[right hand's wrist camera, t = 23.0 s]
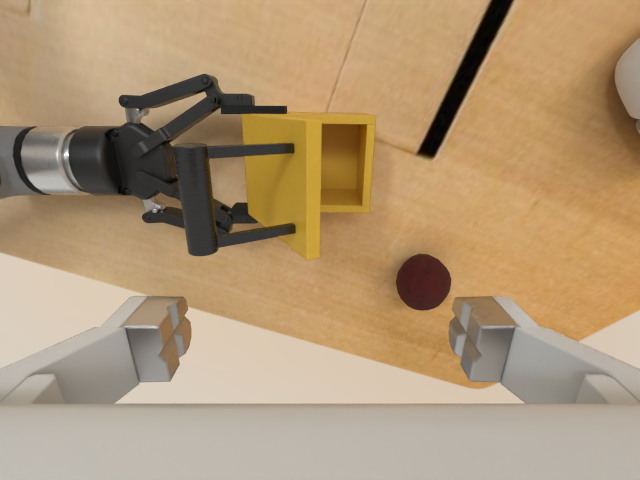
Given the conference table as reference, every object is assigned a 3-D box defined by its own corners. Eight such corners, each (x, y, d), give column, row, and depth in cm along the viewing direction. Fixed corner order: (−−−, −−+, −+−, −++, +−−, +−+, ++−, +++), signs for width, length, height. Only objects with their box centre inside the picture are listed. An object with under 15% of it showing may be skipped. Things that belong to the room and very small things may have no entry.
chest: (365, 113, 42) (376, 115, 34) (361, 193, 46) (369, 213, 38) (263, 112, 42) (248, 113, 34) (267, 192, 46) (254, 211, 38)
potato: (393, 295, 52) (404, 323, 45) (389, 249, 49) (400, 272, 42) (441, 289, 51) (459, 316, 45) (441, 243, 49) (460, 264, 42)
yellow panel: (322, 120, 23) (175, 121, 18) (320, 257, 26) (197, 286, 22) (252, 114, 34) (150, 114, 29) (258, 212, 37) (168, 225, 33)
